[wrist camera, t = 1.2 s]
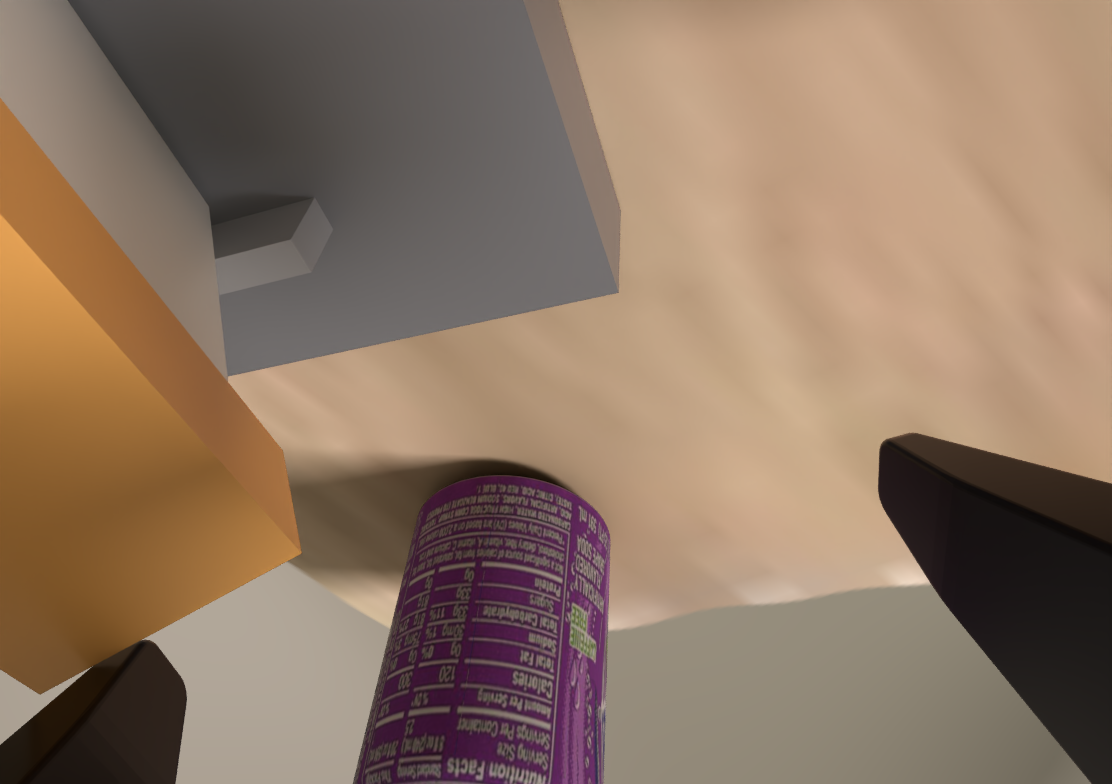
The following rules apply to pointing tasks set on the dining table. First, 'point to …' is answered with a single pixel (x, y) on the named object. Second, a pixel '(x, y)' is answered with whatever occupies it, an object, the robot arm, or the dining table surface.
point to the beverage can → (496, 642)
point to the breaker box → (374, 161)
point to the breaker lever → (111, 372)
